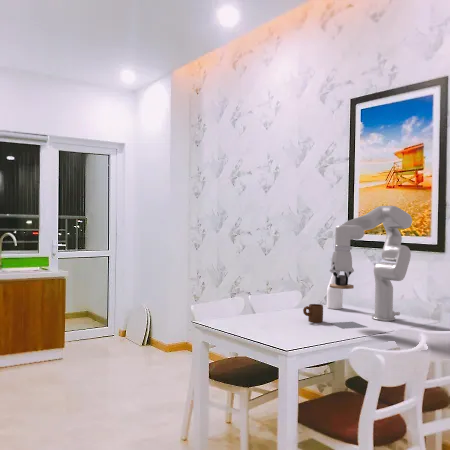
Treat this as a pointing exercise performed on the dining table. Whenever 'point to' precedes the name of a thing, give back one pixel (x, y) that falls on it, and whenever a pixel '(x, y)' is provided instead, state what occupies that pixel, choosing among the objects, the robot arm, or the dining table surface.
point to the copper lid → (342, 283)
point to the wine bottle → (334, 295)
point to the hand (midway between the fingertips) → (341, 284)
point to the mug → (314, 313)
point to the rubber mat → (348, 325)
